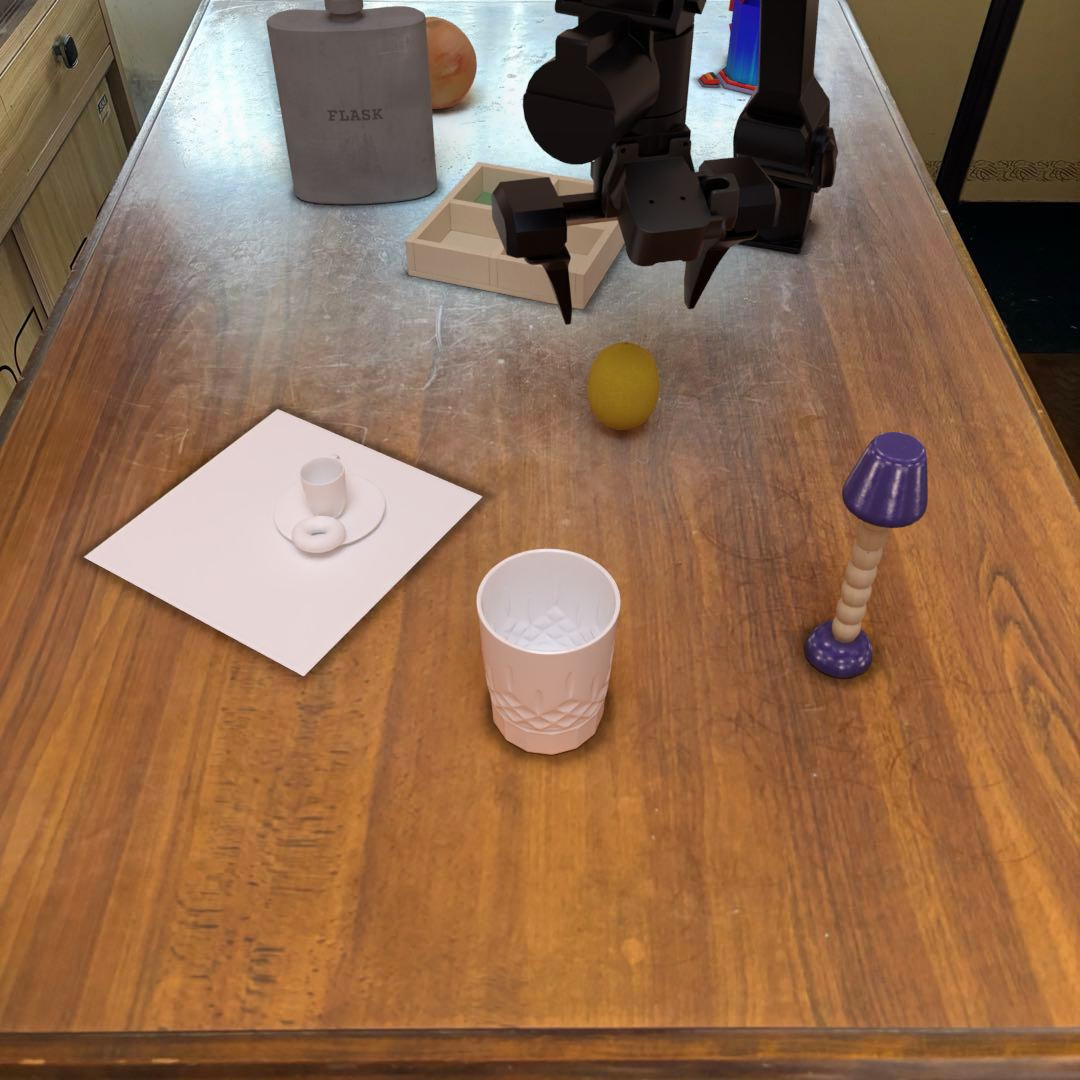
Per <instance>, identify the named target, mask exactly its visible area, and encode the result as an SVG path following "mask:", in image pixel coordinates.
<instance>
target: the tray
mask: <svg viewBox="0 0 1080 1080" xmlns="http://www.w3.org/2000/svg"><path fill="white" fill-rule="evenodd" d="M542 177H549V178H550V180H551V182H552V184H553V186H554V188H555V190H556V192H557V194H558V196H563V195H573V194H582V193H591V192H593V180H590V179H586V178H585V179H584V178H580V177H579V178H578V177H573V176H566V175H559V174H553V173H548V172H543V171H536V170H529V169H524V168H519V167H513V166H506V165H500V164H495V163H494V164H493V163H489V162H488V163H487V162H481V161H477V162H476V163H475V164H474V165H473V166H472V167H471V168H470V170H469V171H468V172H467V173H466V174H465V175H464V176H463V178H461V180H460V181H459V182H457V184H456V185H455V186H454V187H453V188H452V189H451V190H450V192H448V194H447V195H445V197H444V198H443V199H442V200H441V202H439V204H438V205H437V206H436V207H435V208H434V209H433V210H432V211H431V212H430V213H429V214H428V216H427V217H426V218H425V219H424V220H423V221H422V222H421V223H420V224H419V226H417V227H416V229H415V230H414V231H413V232H412V233H411V234H410V235H409V236H408V237H407V239H405V241H404V243H405V251H406V262H407V272H408V273H407V274H408V276H411V277H416V278H421V279H426V280H430V281H435V282H440V283H441V282H442V283H446V284H450V285H457V286H461V287H466V288H471V289H477V290H481V291H487V292H491V293H496V294H502V295H506V296H512V297H517V298H521V299H527V300H531V301H537V302H541V303H548V304H552V305H557V306H558V304H557V301H556V298H555V295H554V293H553V290H552V287H551V284H550V281H549V278H548V276H547V273H546V271H545V269H544V268H543V266H542V265H531V264H528V263H527V262H526V261H525V260H524V258H514V257H511V256H508V255H507V254H506V252H505V249H504V247H503V244H502V242H501V239H500V237H499V234H498V232H497V229H496V227H495V224H494V222H493V219H492V199H491V196H492V193H493V191H494V190H495V188H496V187H497V186H498V184H499V183H500V182H504V181H514V180H523V179H533V178H542ZM624 245H625V242H624V239H623V236H622V232H621V229H620V226H619V223H618V220H617V221H608V222H599V223H590V224H581V225H572V226H567V242H566V243H565V246H566V248H567V250H568V252H569V254H570V256H571V259H570V263H569V266H568V270H569V280H570V291H571V302H572V309H576V310H577V309H578V310H584V309H585V308H586V306H587V304H588V303H589V301H590V299H591V298H592V297H593V295H594V293H595V292H596V290H597V288H598V287H599V285H600V284H601V283H602V282H601V281H602V280H603V279H604V277H605V276H606V274H607V272H608V271H609V269H610V268H611V266H612V264H613V263H614V261H615V260H616V258H617V256H618V255H619V254H620V251H621V250H622V249H623V247H624Z"/></svg>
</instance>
